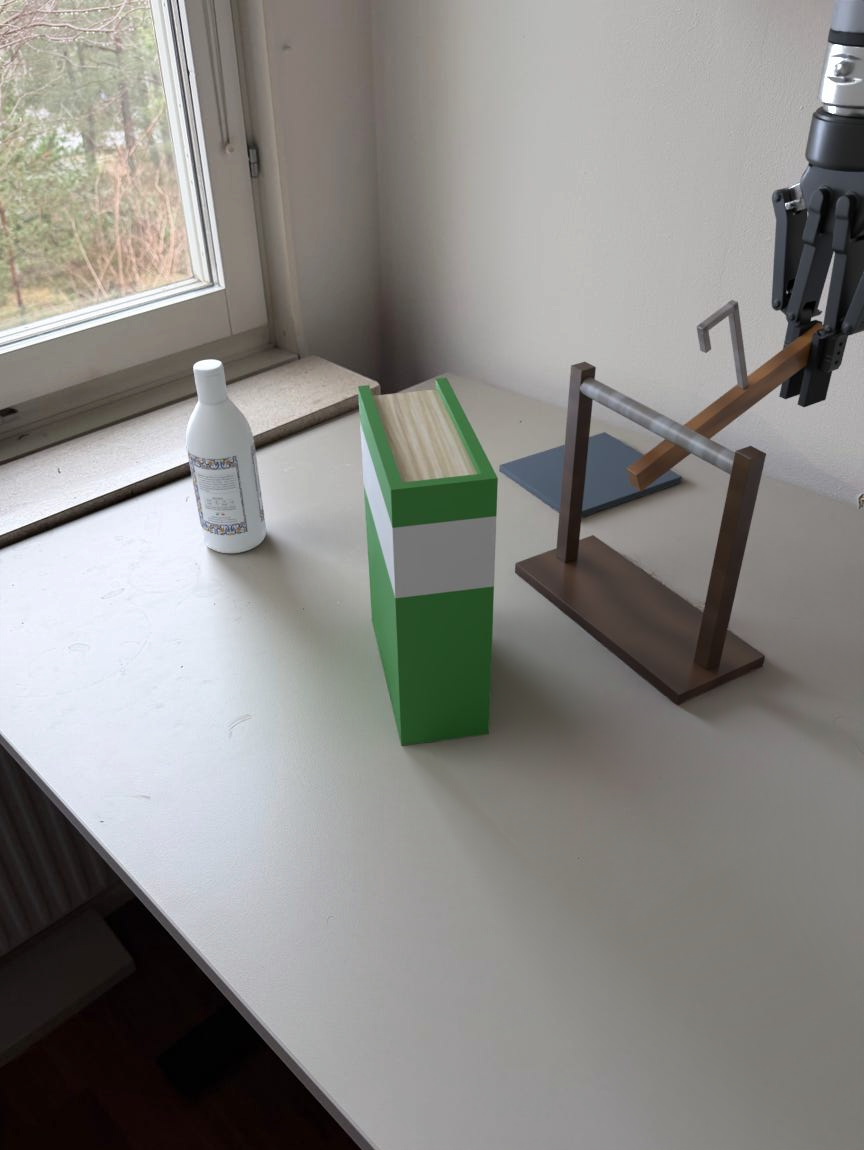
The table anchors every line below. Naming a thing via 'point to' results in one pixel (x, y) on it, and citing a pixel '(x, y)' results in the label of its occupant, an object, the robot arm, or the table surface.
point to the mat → (602, 474)
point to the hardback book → (430, 559)
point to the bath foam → (223, 466)
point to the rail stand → (629, 594)
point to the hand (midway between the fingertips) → (802, 397)
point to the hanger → (733, 400)
